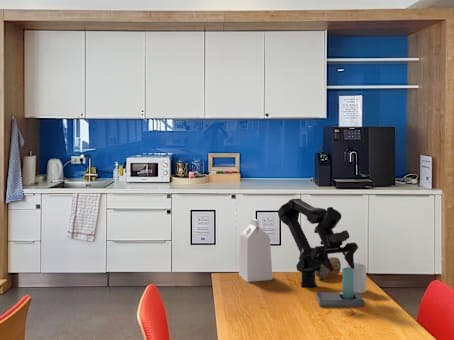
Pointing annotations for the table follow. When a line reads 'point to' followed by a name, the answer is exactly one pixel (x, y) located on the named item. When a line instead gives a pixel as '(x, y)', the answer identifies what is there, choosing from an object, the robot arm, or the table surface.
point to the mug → (359, 277)
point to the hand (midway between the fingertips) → (343, 269)
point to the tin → (326, 273)
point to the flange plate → (339, 300)
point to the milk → (255, 254)
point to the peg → (348, 283)
